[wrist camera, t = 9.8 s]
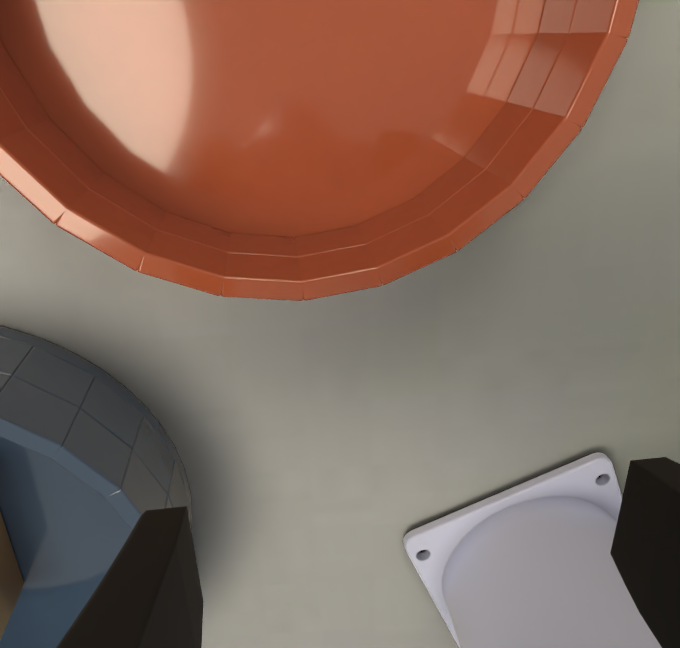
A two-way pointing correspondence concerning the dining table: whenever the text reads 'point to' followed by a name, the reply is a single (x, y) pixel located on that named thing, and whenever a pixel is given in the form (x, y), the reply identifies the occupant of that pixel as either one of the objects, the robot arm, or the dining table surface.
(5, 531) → the tan block dark cap
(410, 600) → the dining table surface
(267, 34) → the terracotta bowl
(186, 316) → the dining table surface
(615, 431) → the dining table surface
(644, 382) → the dining table surface
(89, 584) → the slate bowl
